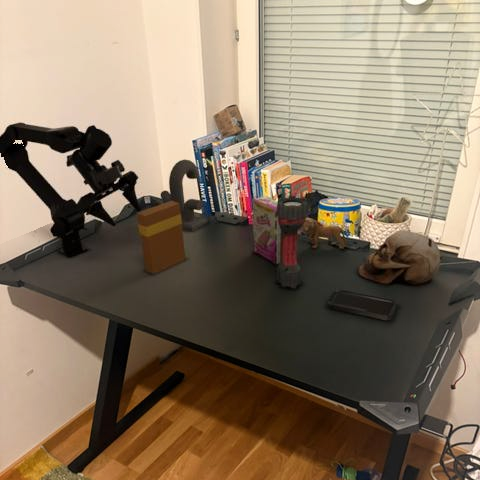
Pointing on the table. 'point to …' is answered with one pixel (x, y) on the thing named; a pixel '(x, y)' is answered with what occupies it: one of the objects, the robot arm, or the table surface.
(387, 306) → the phone
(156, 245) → the brown banded box
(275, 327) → the table surface
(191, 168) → the dark grey curved stand
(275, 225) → the candy bar box
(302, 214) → the flashlight
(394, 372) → the table surface
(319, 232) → the lion figurine
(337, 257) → the table surface
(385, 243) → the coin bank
